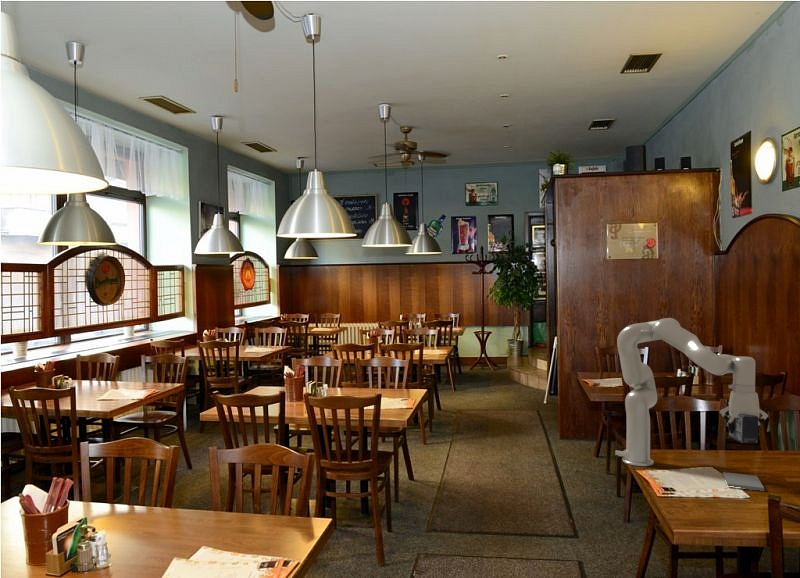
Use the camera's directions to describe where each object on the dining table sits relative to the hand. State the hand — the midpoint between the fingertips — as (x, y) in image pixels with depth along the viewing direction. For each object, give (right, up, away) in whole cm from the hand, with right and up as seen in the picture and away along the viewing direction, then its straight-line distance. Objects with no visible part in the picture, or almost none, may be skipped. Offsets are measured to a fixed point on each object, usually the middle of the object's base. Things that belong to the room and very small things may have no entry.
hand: (743, 433), depth 237 cm
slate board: (0, -20, 0) cm, 20 cm away
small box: (0, -3, 0) cm, 3 cm away
